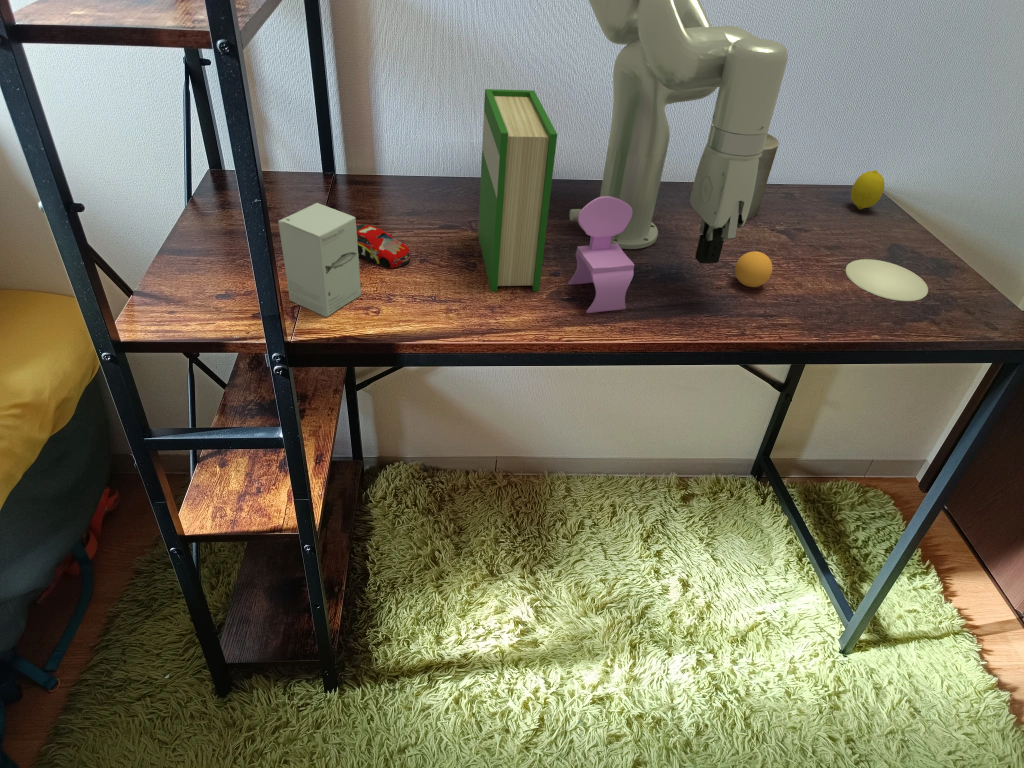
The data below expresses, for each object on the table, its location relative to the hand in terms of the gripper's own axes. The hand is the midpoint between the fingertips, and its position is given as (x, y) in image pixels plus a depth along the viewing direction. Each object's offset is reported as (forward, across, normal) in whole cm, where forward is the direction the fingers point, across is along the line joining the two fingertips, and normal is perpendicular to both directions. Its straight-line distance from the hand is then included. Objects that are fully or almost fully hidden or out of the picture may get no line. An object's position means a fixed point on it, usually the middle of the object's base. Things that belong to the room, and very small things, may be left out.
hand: (706, 260), depth 106 cm
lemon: (+5, -27, +45) cm, 53 cm away
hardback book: (+5, -10, -29) cm, 31 cm away
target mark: (+6, -1, +34) cm, 34 cm away
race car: (+4, -14, -50) cm, 52 cm away
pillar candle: (+5, -28, +18) cm, 34 cm away
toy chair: (+5, +1, -17) cm, 18 cm away
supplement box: (+5, -1, -57) cm, 57 cm away
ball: (+3, -1, +9) cm, 10 cm away
